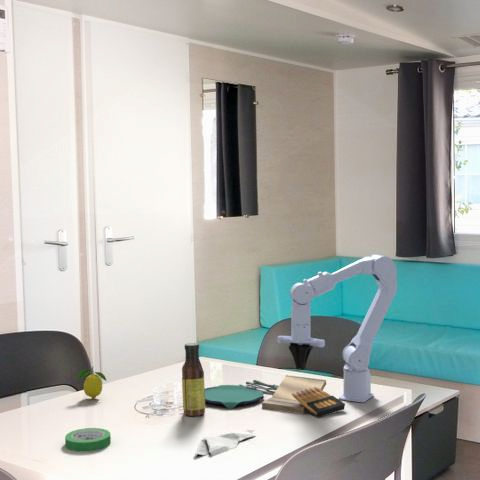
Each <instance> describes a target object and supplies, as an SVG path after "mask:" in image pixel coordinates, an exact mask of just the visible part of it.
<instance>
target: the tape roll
mask: <svg viewBox="0 0 480 480" xmlns="http://www.w3.org/2000/svg"><path fill="white" fill-rule="evenodd" d="M64 439H65V443H64V445H65V448H66V449H67V450H70V451H74V452H93V451H94V452H95V451H99V450H103V449H105V448H108V447H109V446H110V445H111V443H112V442H111V432H110V431H109V430H108V429H104V428H98V427H87V428H86V427H85V428H79V429H76V430H72V431H70V432H68V433H67V434H66V435H65V438H64Z"/></svg>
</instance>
